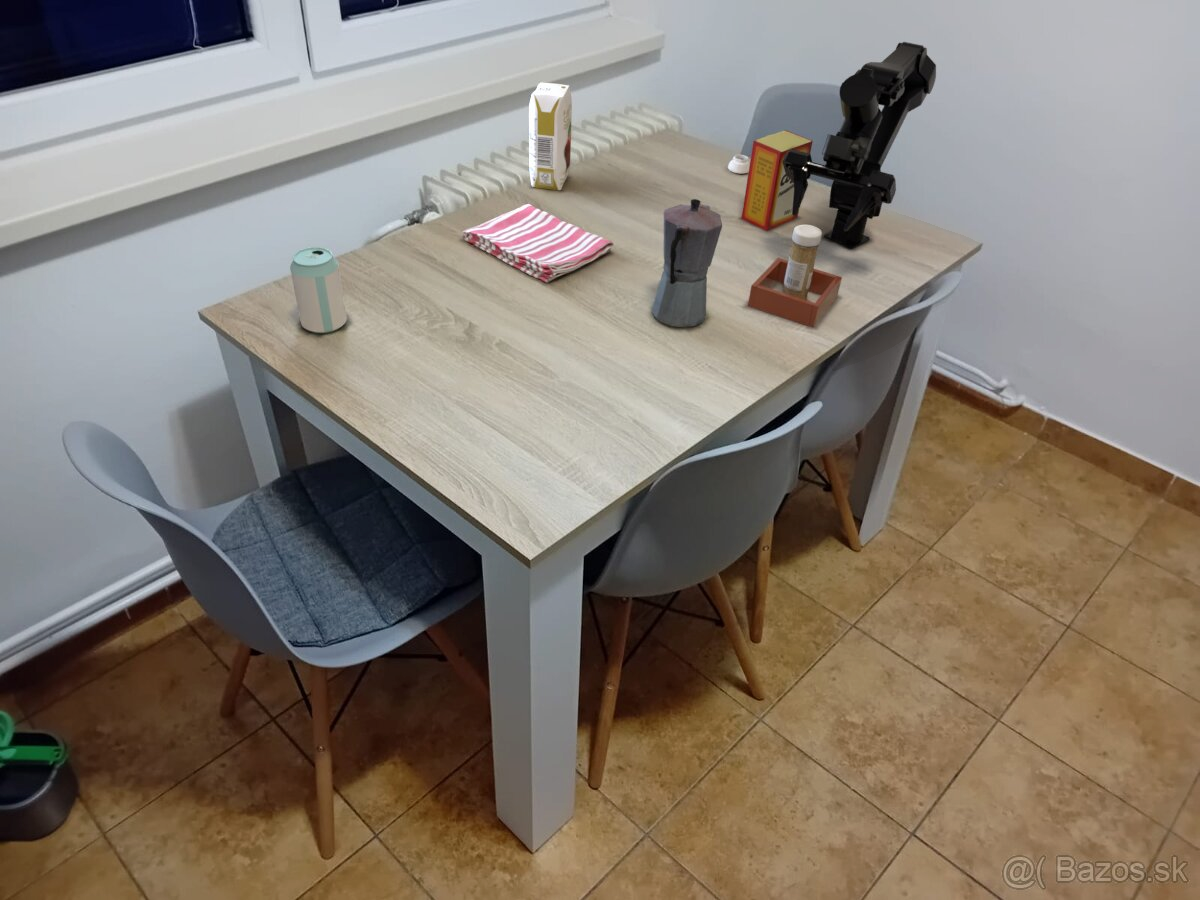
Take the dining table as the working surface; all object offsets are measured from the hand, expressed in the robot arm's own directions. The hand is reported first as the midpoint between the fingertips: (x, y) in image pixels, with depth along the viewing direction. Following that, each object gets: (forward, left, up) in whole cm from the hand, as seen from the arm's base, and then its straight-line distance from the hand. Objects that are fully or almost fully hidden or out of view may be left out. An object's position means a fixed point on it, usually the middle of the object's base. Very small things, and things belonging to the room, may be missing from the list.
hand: (819, 222), depth 152 cm
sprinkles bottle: (+6, +2, -13) cm, 14 cm away
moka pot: (+25, -7, -13) cm, 29 cm away
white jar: (-29, -40, -13) cm, 51 cm away
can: (+71, -41, -13) cm, 83 cm away
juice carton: (+8, -60, -13) cm, 62 cm away
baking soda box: (-16, -21, -13) cm, 30 cm away
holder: (+6, +2, -12) cm, 14 cm away
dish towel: (+28, -40, -13) cm, 50 cm away
